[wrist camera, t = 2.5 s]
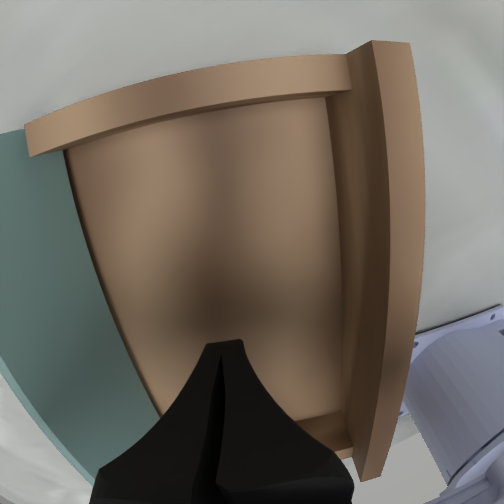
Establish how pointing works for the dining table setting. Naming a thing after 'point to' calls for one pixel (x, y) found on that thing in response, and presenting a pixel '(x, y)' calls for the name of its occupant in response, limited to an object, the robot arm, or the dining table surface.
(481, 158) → the dining table surface
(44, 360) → the panel
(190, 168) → the brown wooden drawer
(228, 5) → the dining table surface
